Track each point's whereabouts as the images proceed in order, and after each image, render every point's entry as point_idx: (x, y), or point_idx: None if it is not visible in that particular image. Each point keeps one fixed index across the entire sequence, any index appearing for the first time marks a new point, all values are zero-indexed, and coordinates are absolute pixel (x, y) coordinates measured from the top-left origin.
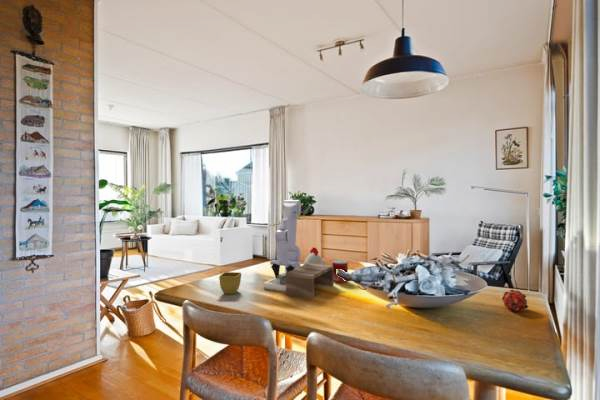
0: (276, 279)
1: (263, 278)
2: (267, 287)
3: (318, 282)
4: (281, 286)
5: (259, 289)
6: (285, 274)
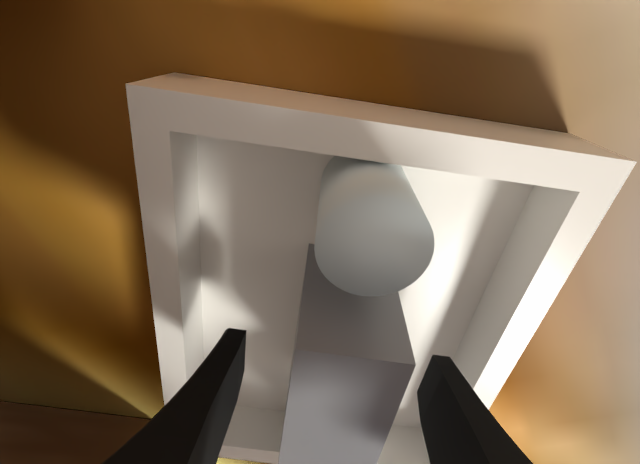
0: (374, 216)
1: (628, 453)
2: (513, 129)
3: (28, 425)
4: (230, 93)
5: (637, 68)
6: (297, 442)
